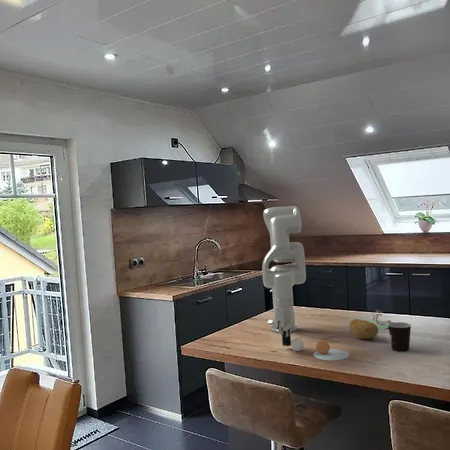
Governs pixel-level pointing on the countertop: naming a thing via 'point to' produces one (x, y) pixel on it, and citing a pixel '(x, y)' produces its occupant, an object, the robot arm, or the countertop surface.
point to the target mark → (332, 355)
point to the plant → (378, 322)
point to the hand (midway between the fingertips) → (286, 345)
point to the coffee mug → (399, 336)
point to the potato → (363, 329)
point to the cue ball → (297, 344)
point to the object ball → (322, 347)
